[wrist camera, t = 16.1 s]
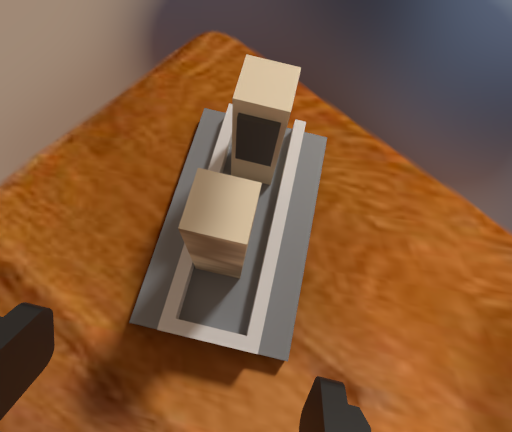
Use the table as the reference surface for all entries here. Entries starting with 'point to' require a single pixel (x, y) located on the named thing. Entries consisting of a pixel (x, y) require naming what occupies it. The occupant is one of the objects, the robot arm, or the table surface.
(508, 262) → the table surface
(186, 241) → the maple finger
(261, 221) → the rail board
